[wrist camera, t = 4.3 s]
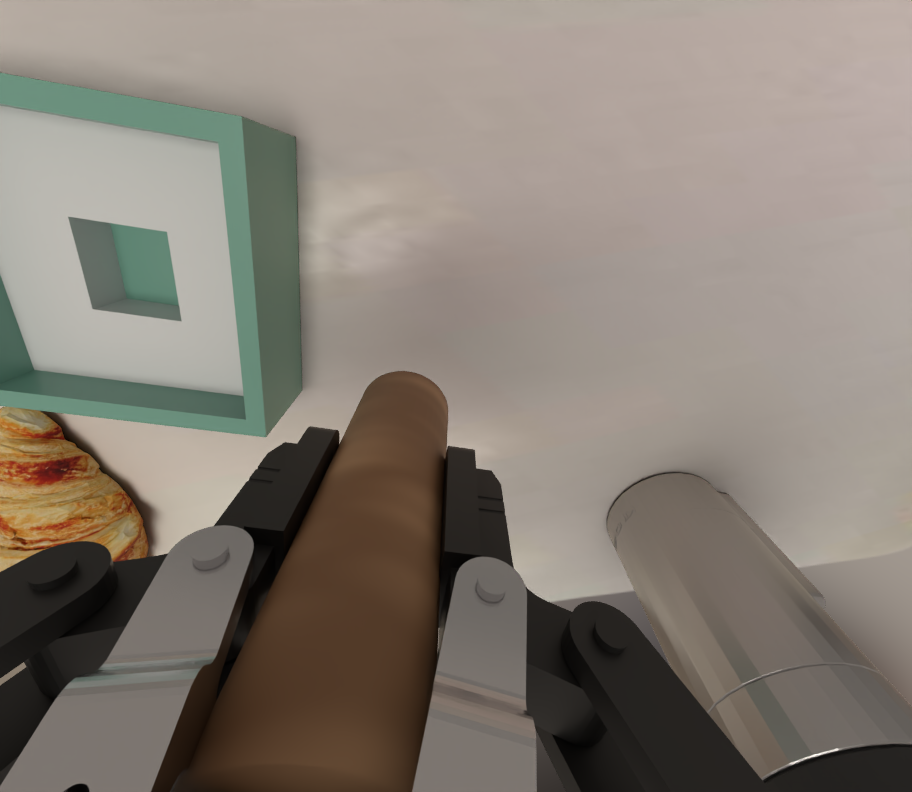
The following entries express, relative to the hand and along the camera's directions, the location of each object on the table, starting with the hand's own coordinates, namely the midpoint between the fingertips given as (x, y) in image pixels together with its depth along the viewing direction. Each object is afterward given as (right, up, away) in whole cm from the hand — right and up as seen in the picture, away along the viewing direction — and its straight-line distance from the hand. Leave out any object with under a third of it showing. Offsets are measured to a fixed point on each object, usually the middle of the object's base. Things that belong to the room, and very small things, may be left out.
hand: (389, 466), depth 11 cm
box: (-15, +10, +13) cm, 22 cm away
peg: (0, +1, +3) cm, 3 cm away
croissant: (-28, -7, +22) cm, 36 cm away
